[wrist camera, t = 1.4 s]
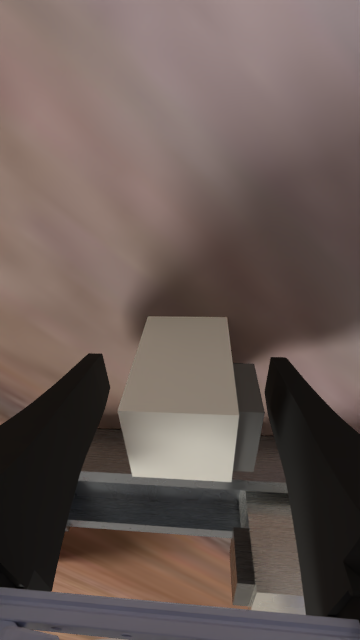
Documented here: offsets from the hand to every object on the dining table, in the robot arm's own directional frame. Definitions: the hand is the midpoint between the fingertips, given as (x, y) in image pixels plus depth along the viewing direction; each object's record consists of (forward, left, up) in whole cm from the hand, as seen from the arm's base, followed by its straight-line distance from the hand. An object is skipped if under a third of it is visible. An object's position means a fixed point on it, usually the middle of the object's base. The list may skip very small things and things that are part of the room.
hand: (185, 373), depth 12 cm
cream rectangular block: (0, 0, -2) cm, 2 cm away
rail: (-10, +1, -2) cm, 10 cm away
